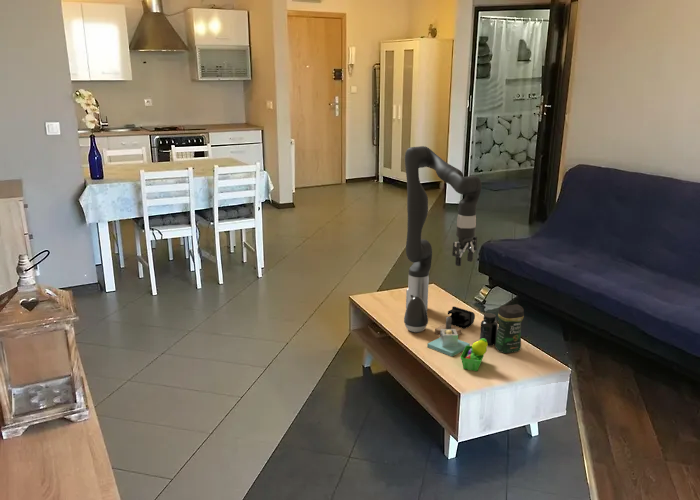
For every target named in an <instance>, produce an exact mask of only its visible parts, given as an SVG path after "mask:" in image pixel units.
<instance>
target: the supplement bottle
mask: <svg viewBox="0 0 700 500" xmlns="http://www.w3.org/2000/svg"><path fill="white" fill-rule="evenodd" d="M498 325H499V322H498V321H497V316H496V314H494V313H490V312H489V313H485V314H483V320H482V321H481V322H480V331H479V334H480V335H479V340H480V339H482V338H484V339H486V340H487V343H488V346H489V347H490V346H491V347H492V346H495V342H496V337H497V332H498ZM488 346H487V347H488Z"/></svg>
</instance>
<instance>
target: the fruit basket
mask: <svg viewBox="0 0 700 500" xmlns="http://www.w3.org/2000/svg"><path fill="white" fill-rule="evenodd" d="M487 347H488V343H487V340H486V339H484V338H482V339H480V338H479V340H477V341H475V342H473V343H472V345H470V346H466V347H465V349H464V350H463V351H462V353H461V355H460V360H461V363H462V368H463V370H467V371H468V370H469V371H474V372H478V370H479V368H480V366H481V364H482V361H483V358H484V357H485V356H484V355H485V354H486V352H487V349H488V348H487Z"/></svg>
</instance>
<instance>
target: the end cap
mask: <svg viewBox="0 0 700 500" xmlns="http://www.w3.org/2000/svg"><path fill="white" fill-rule="evenodd" d="M447 315H449V316H448V317H451V318H452V320H451V325H452V326H455V327H458V328H461V329H462V330H466V329H468V328H470V327H471V326H472V325H473V324H474V322H475V318H476V315H475V313H474V311H470V310H468V309H464V308H460V307H458V306H452V307H451V309H450V310H448V311H447ZM469 326H470V327H469Z"/></svg>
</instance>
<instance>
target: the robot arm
mask: <svg viewBox="0 0 700 500" xmlns="http://www.w3.org/2000/svg"><path fill="white" fill-rule="evenodd" d="M404 167H405V174H406V194H407V197H406V198H407V199H406V200H407V201H406V211H407V222H406V223H407V227H406V228H407V233H406V244H405V253H406V258H407V259H408V261H410V262H411V263H412V265H410V267H409V268H408V284H407V285H408V288H406V295H405V308H407V306H408V303H409V301H410V300H411V296H410V295H413V296H414V297H415V296H418V297H420V298H422V300H423V301H424V304H425V307H426V310H427V311H428V304H429V303H428V302H429V280H430V279H429V277H430V271H431V268H432V261H433V259H432V258H433V247H432V244H431V243H430V242H429V240H427V239H424V238H423V239H422V230H423V228H424V225H425V222H426V221H427V220H426V219H427V216H428V213H429V199H428V194H427V192H426V190H425V189H424V187H423V185H422V183H421V180H420V175H419V172H420V171H419V170H420V169H421V168H430V169H432V170H434V172H435V173H436V176H437V177H438V178H439V179H440V180H442V181H443V182H445V183H446V184H449V185H450V186H451V187H452V188H453V190H454V191H455V192H456V193H458V194H459V195H465V197H464V198H463V199H461V200H460V201H459V202H458V212H457V219H456V237H457V238H458V240H457V241H453V243H452V253H451V255H452V256H453V257H455V262H454V263H455V266H456V267H460V266H462V256H463V254H464V253H465V251H467V259H466V260H467V262H470V263H471V262H473V261H474V253H475V251H477V250H478V236H476V226H477V225H476V224H477V218H476V217H477V204H478V201H479V197H480V195H481V192H482V187H483V186H482V181H481V178H480V177H479V176H478V175H470V176H464V173H463V171H461V169H458V168H457V167H455V166H453V165H451V164H450V163H448V162H446V161H445V160H444V159H442V158H441V157H440V156H439V155H437V153H435V152H434V151H433V150H432V149H431V148H429V147H427V146H424V145H421V146H413V147H408V148H407V149H406V151H405V154H404Z"/></svg>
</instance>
